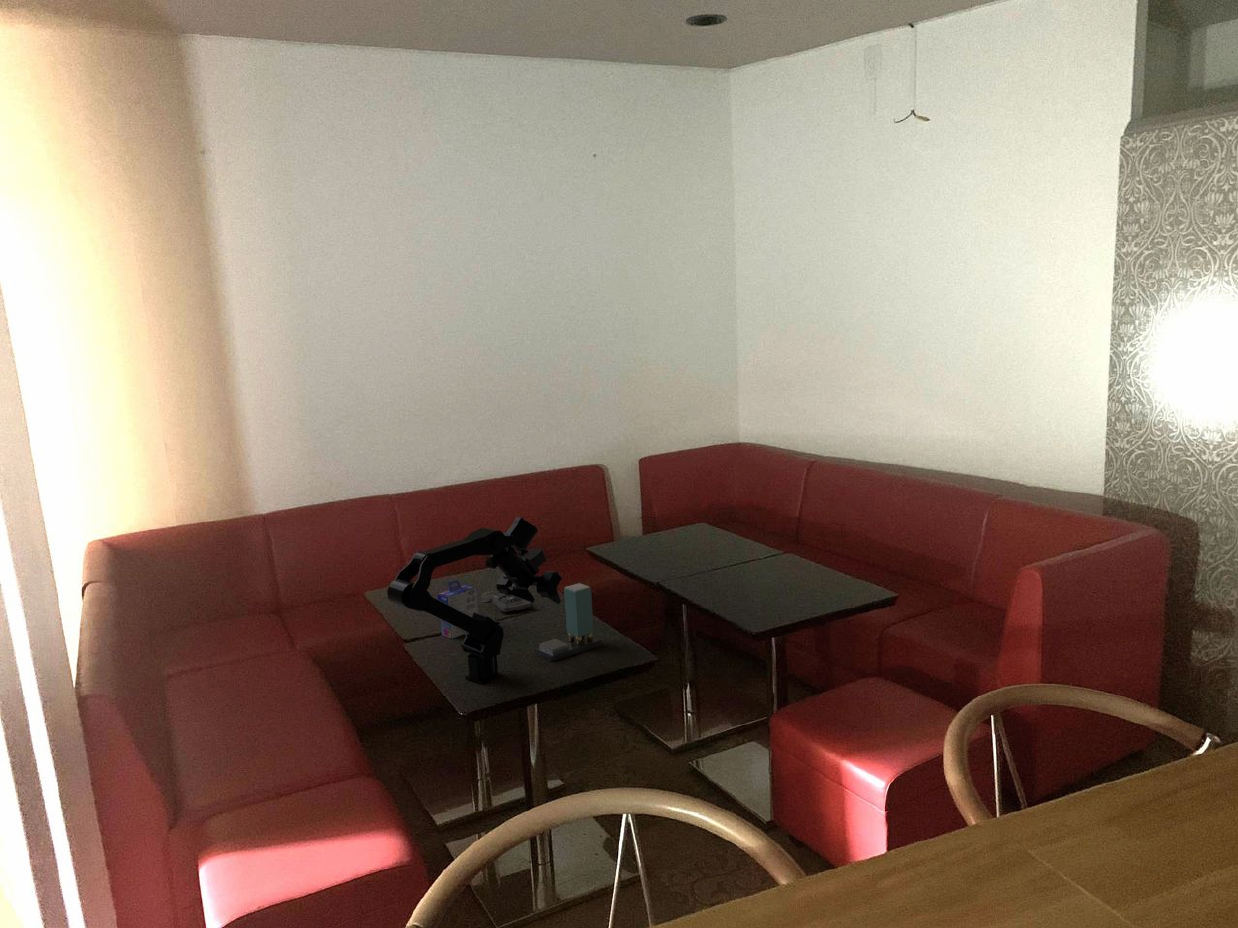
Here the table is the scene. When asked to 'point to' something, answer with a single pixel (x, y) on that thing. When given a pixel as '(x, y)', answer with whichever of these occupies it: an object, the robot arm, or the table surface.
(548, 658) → the chassis
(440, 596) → the ink cartridge box
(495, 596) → the graphics card
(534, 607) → the table surface
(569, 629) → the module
